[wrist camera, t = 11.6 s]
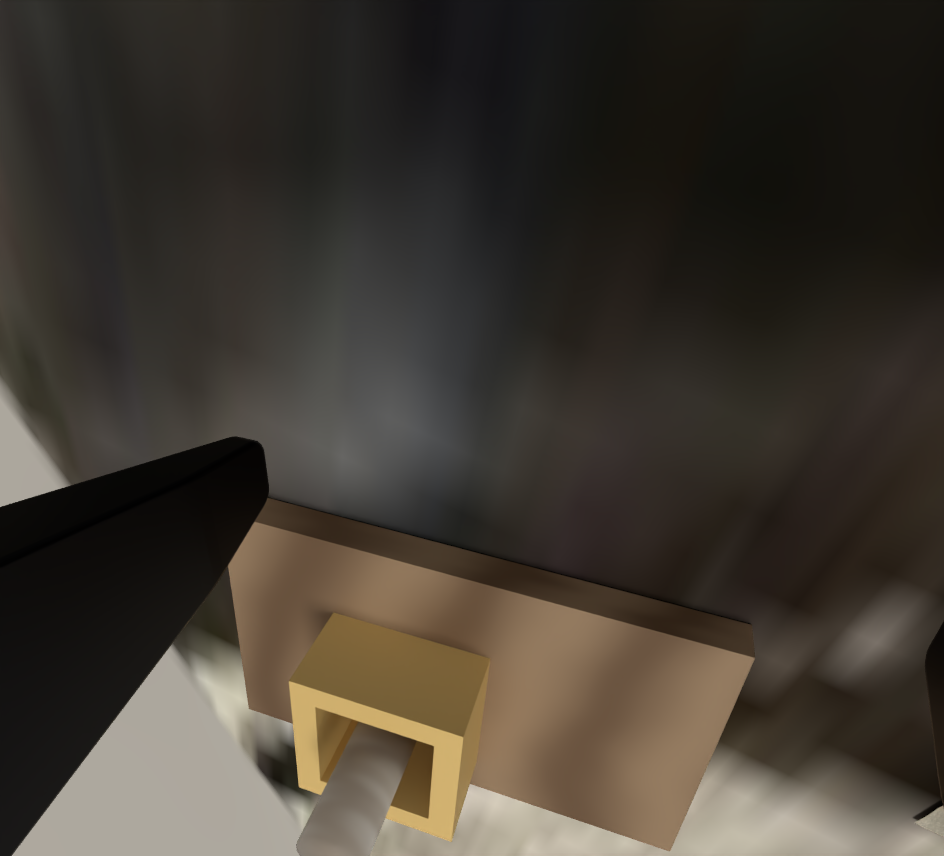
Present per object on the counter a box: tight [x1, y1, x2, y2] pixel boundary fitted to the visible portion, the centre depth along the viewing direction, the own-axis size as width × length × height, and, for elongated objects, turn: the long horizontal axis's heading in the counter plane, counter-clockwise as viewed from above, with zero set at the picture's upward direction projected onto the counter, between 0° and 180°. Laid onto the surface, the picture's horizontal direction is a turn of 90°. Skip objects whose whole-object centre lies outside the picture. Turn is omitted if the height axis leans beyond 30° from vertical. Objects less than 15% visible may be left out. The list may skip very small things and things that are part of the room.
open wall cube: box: [289, 612, 490, 842], centre depth 26 cm, size 7×7×4 cm
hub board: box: [228, 498, 755, 856], centre depth 25 cm, size 20×12×8 cm, turn 86°
